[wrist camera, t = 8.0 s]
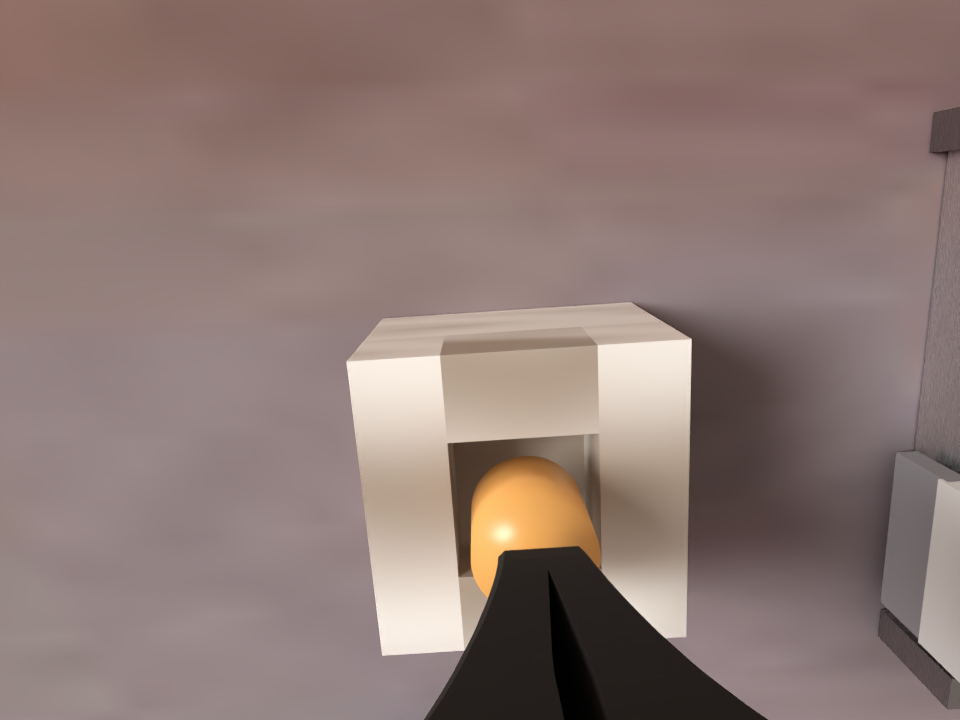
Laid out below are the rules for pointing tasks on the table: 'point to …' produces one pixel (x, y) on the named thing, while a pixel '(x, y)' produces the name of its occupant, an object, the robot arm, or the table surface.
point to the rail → (938, 391)
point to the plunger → (526, 514)
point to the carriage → (925, 555)
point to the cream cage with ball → (520, 452)
